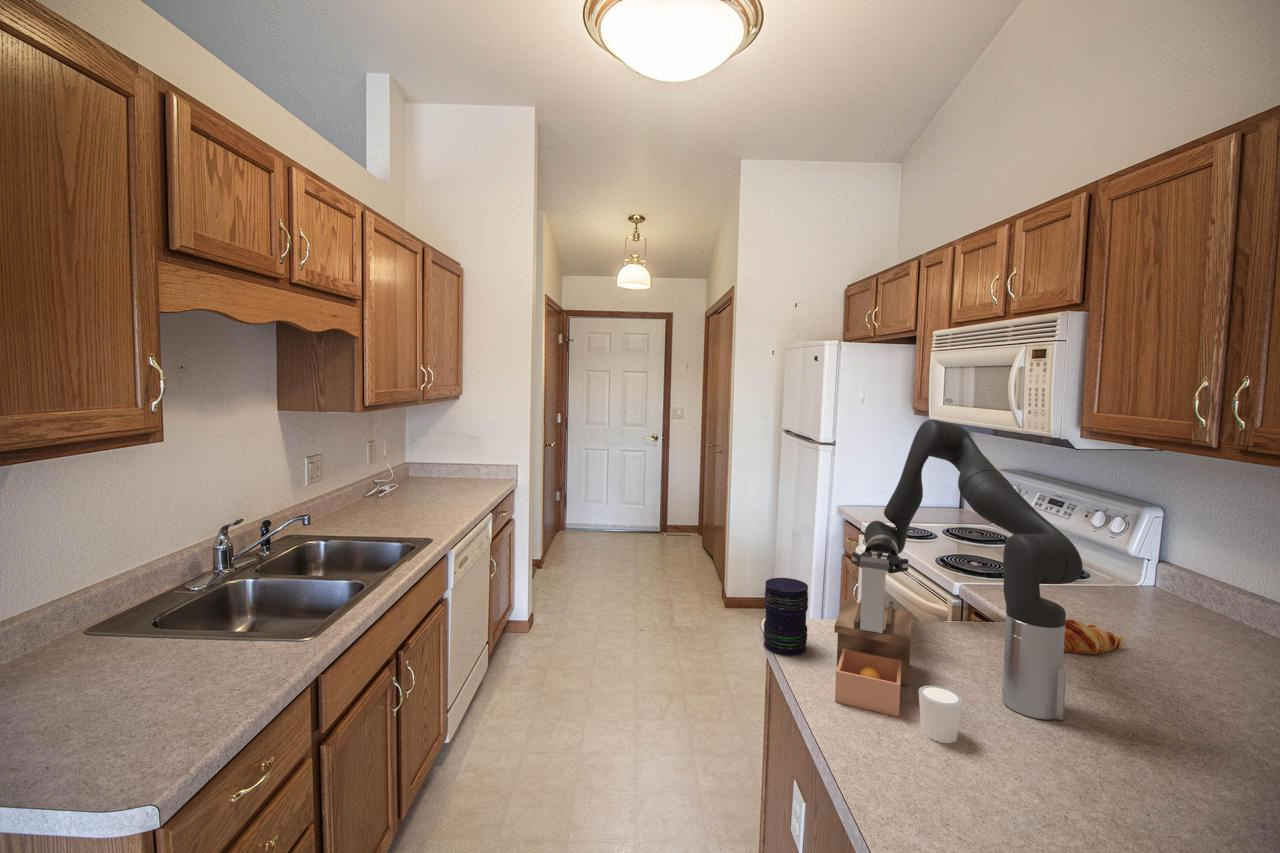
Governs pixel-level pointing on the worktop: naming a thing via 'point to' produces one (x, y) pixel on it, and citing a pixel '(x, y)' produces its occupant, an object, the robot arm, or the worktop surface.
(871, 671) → the ball
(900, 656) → the shelf
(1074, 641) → the croissant
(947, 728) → the white cylinder
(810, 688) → the worktop surface
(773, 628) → the dark blue ribbed barrel
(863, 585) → the grey metal tall block
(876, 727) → the worktop surface
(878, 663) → the orange open drawer
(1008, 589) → the robot arm
